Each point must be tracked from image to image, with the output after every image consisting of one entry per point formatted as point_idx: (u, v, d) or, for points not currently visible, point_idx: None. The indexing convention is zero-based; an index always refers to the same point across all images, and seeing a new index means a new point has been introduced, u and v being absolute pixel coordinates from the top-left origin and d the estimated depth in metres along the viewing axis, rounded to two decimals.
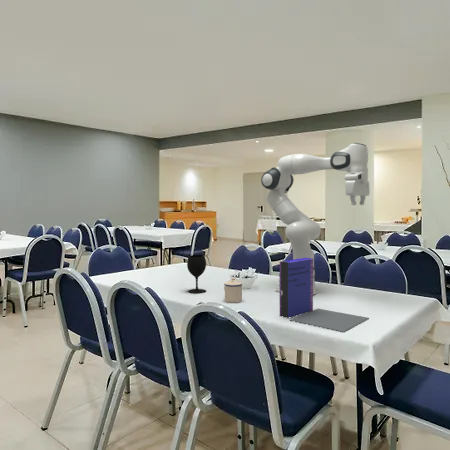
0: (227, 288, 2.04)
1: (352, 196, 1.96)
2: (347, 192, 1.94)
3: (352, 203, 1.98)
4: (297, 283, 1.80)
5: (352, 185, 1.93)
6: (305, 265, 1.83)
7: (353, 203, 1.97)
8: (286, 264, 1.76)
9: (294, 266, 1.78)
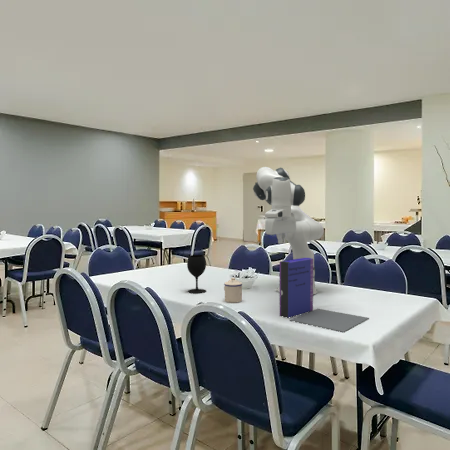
0: (227, 288, 2.04)
1: (278, 234, 1.85)
2: (267, 231, 1.80)
3: (279, 241, 1.86)
4: (297, 283, 1.80)
5: (271, 224, 1.79)
6: (305, 265, 1.83)
7: (280, 241, 1.86)
8: (286, 264, 1.76)
9: (294, 266, 1.78)
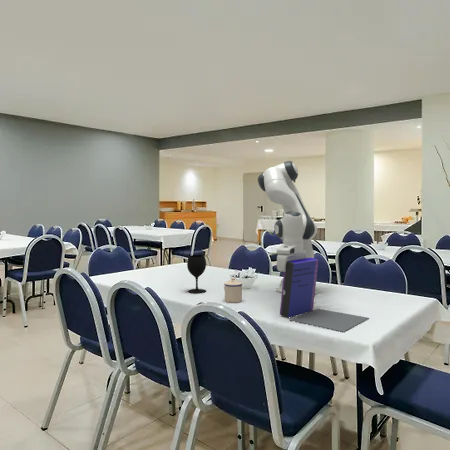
0: (227, 288, 2.04)
1: None
2: (278, 268, 1.77)
3: None
4: (301, 283, 1.78)
5: (283, 261, 1.75)
6: (310, 266, 1.81)
7: None
8: (291, 265, 1.73)
9: (299, 267, 1.76)
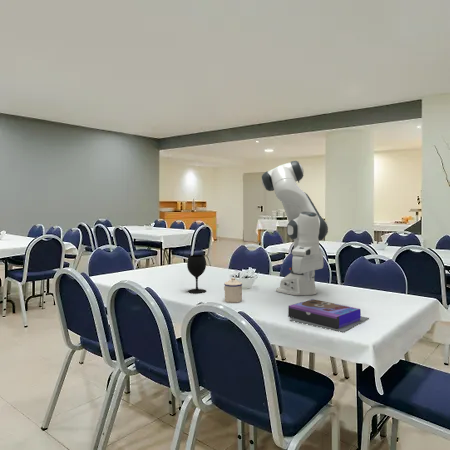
0: (227, 288, 2.04)
1: (305, 272, 1.76)
2: (294, 270, 1.71)
3: (306, 279, 1.78)
4: None
5: (299, 262, 1.70)
6: None
7: (307, 280, 1.77)
8: (334, 326, 1.60)
9: None
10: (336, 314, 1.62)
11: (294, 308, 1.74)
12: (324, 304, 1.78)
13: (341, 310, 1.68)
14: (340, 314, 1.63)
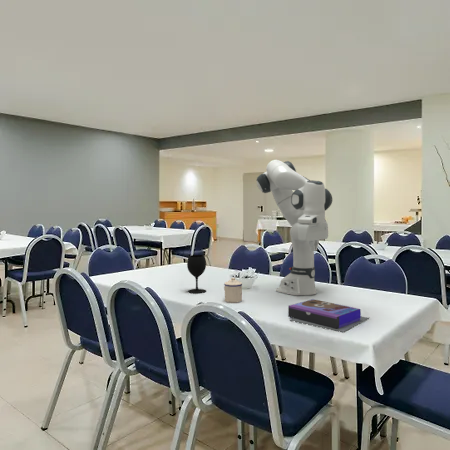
0: (227, 288, 2.04)
1: (311, 241, 1.75)
2: (300, 238, 1.70)
3: (311, 249, 1.76)
4: None
5: (305, 230, 1.68)
6: None
7: (312, 249, 1.76)
8: (334, 326, 1.60)
9: None
10: (336, 314, 1.62)
11: (294, 308, 1.74)
12: (324, 304, 1.78)
13: (341, 310, 1.68)
14: (340, 314, 1.63)
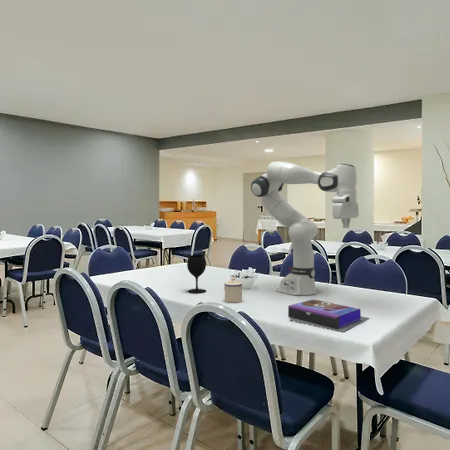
0: (227, 288, 2.04)
1: (344, 219, 1.92)
2: (334, 216, 1.86)
3: (344, 226, 1.93)
4: None
5: (339, 208, 1.85)
6: None
7: (345, 226, 1.93)
8: (334, 326, 1.60)
9: None
10: (336, 314, 1.62)
11: (294, 308, 1.74)
12: (324, 304, 1.78)
13: (341, 310, 1.68)
14: (340, 314, 1.63)
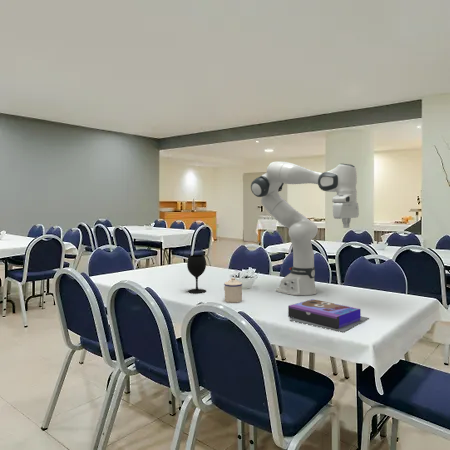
0: (227, 288, 2.04)
1: (344, 219, 1.92)
2: (335, 216, 1.87)
3: (344, 226, 1.93)
4: None
5: (340, 208, 1.85)
6: None
7: (345, 226, 1.93)
8: (334, 326, 1.60)
9: None
10: (336, 314, 1.62)
11: (294, 308, 1.74)
12: (324, 304, 1.78)
13: (341, 310, 1.68)
14: (340, 314, 1.63)
